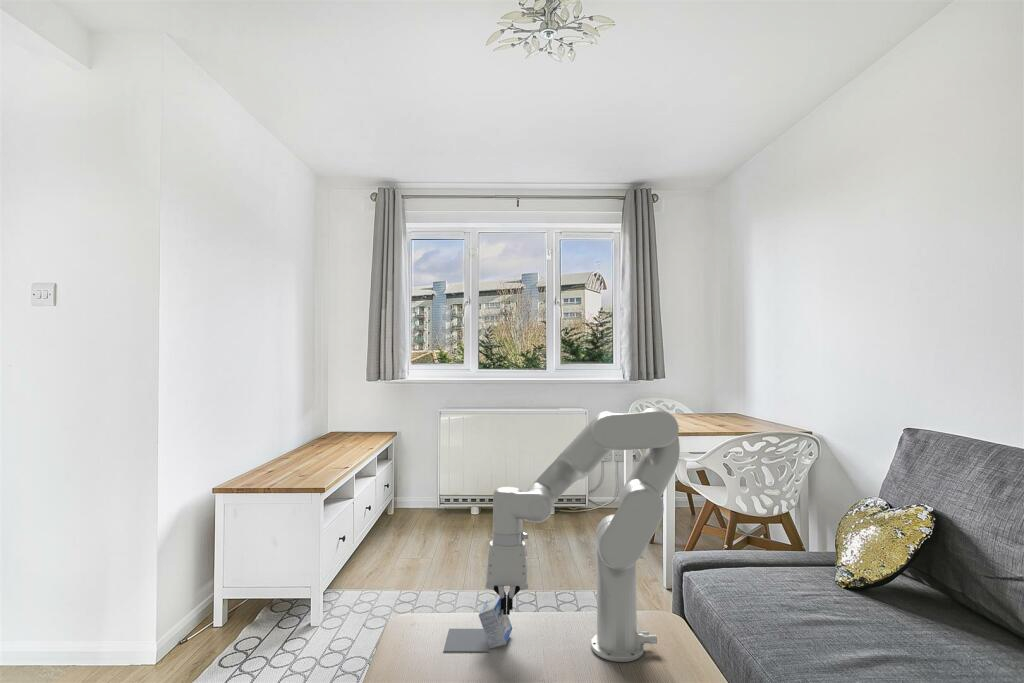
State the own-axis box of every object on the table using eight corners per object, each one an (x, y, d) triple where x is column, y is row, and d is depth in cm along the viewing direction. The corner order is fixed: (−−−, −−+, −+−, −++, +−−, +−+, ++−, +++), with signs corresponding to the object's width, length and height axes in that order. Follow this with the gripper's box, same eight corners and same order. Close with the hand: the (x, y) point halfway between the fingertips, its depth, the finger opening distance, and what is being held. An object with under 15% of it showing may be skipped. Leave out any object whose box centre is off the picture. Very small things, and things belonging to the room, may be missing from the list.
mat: (491, 629, 138) (491, 628, 139) (489, 652, 128) (489, 651, 128) (449, 629, 139) (449, 628, 139) (443, 652, 128) (443, 650, 128)
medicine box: (506, 644, 128) (494, 609, 129) (489, 649, 129) (477, 613, 130) (513, 629, 136) (501, 595, 137) (497, 633, 137) (485, 600, 138)
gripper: (536, 533, 137) (535, 606, 137) (478, 532, 138) (477, 605, 137) (537, 543, 130) (537, 620, 129) (476, 542, 130) (475, 619, 129)
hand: (506, 612), depth 133 cm, fingers closed
